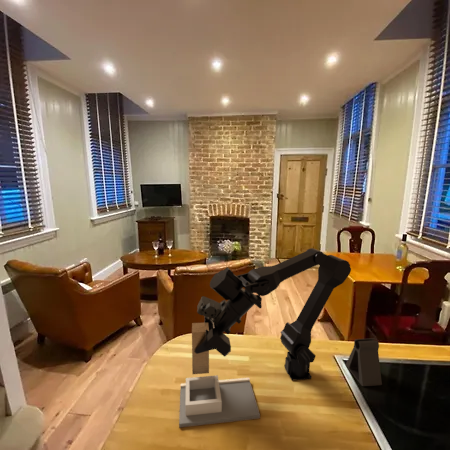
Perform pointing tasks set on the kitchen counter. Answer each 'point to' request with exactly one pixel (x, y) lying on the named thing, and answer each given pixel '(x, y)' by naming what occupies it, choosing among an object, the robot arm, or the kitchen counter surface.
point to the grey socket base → (216, 401)
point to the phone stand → (365, 362)
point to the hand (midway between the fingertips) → (195, 346)
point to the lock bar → (201, 359)
